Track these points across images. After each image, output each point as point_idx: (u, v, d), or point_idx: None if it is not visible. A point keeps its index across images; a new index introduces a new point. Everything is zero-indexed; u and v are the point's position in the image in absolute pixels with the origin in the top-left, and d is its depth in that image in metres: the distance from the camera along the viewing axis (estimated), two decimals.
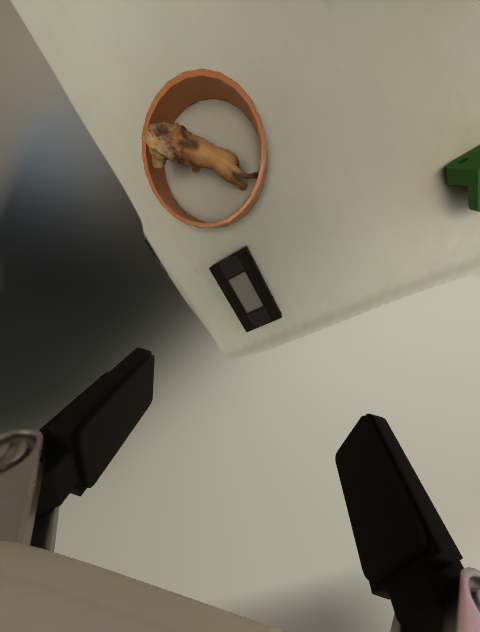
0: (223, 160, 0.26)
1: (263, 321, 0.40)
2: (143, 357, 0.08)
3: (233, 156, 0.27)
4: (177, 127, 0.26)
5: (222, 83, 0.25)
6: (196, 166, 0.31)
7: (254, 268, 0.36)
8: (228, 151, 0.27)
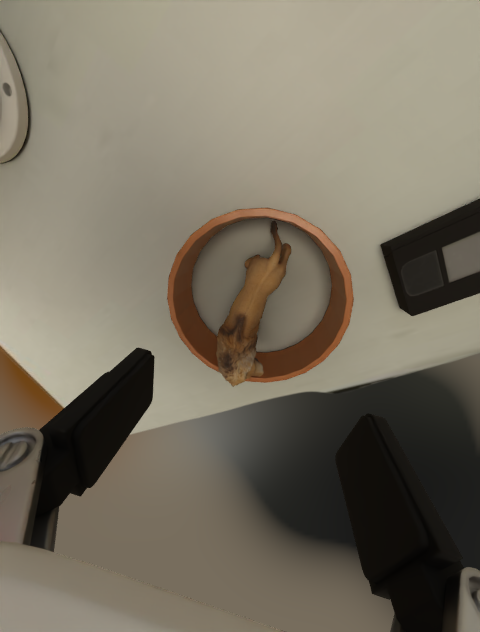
0: (262, 279, 0.16)
1: None
2: (143, 357, 0.08)
3: (257, 263, 0.17)
4: (222, 338, 0.19)
5: (177, 274, 0.20)
6: None
7: (442, 226, 0.17)
8: (250, 270, 0.17)
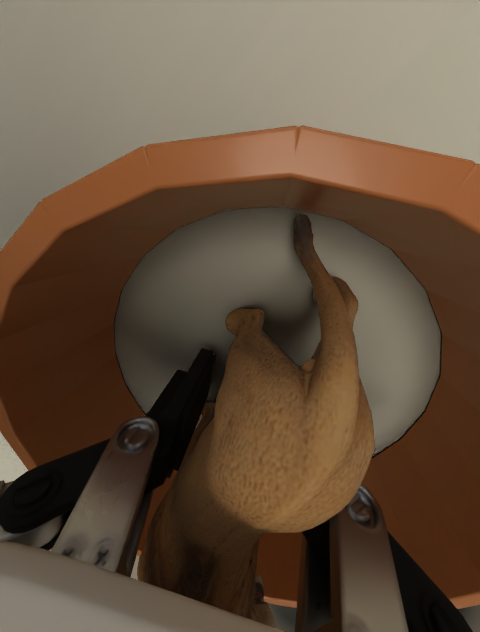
0: (285, 510, 0.03)
1: None
2: (209, 356, 0.09)
3: (254, 404, 0.04)
4: None
5: (14, 374, 0.07)
6: None
7: None
8: (226, 428, 0.04)
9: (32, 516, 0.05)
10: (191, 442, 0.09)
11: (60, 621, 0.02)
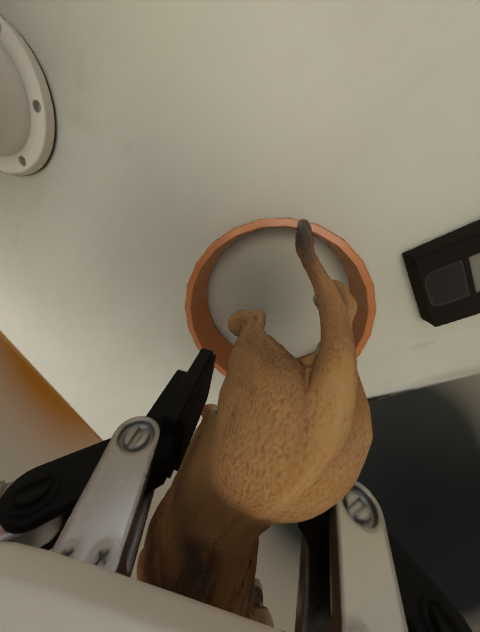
0: (286, 496, 0.03)
1: None
2: (210, 356, 0.09)
3: (257, 395, 0.04)
4: None
5: (196, 282, 0.20)
6: None
7: (469, 235, 0.17)
8: (229, 419, 0.04)
9: (33, 516, 0.05)
10: (192, 442, 0.09)
11: (60, 621, 0.02)
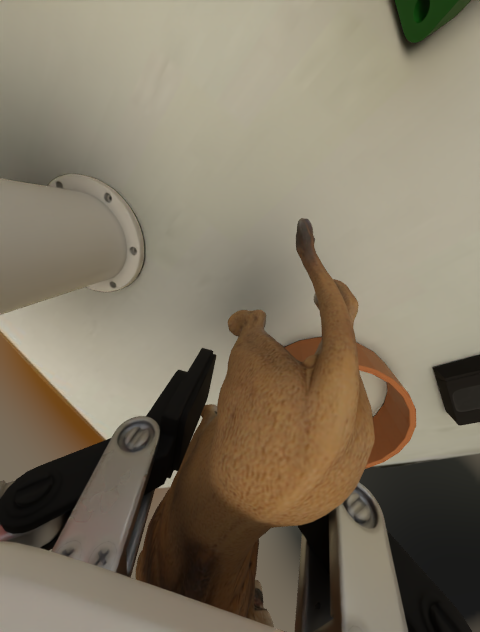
0: (286, 499, 0.03)
1: None
2: (210, 356, 0.09)
3: (257, 396, 0.04)
4: None
5: None
6: None
7: None
8: (229, 421, 0.04)
9: (33, 516, 0.05)
10: (192, 443, 0.09)
11: (60, 621, 0.02)
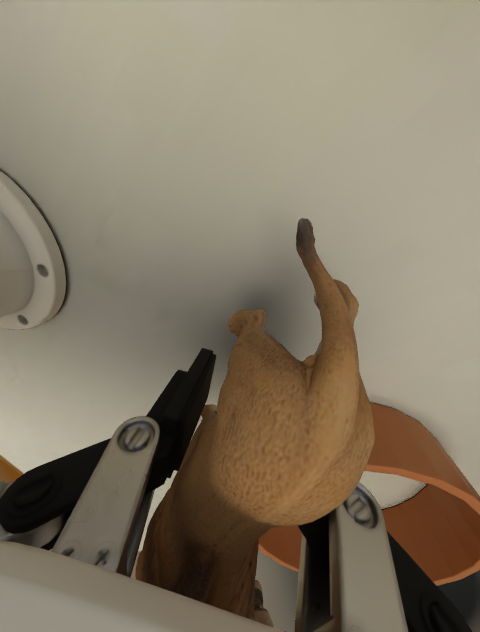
0: (286, 498, 0.03)
1: None
2: (210, 356, 0.09)
3: (257, 396, 0.04)
4: None
5: None
6: None
7: None
8: (229, 421, 0.04)
9: (33, 516, 0.05)
10: (192, 443, 0.09)
11: (60, 621, 0.02)
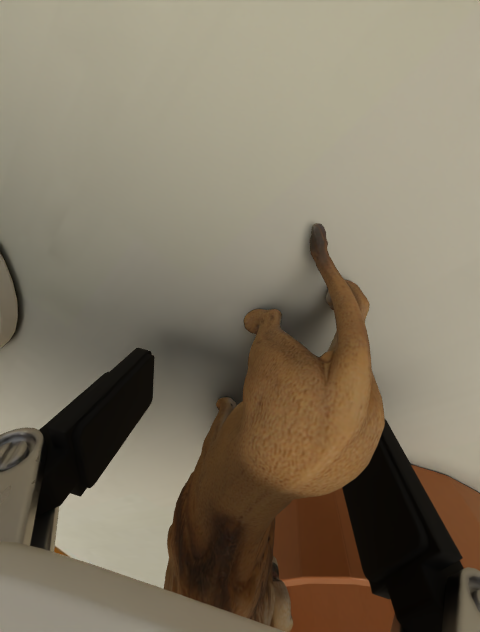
0: (309, 471, 0.04)
1: None
2: (143, 357, 0.08)
3: (282, 387, 0.04)
4: (175, 567, 0.07)
5: None
6: None
7: None
8: (256, 408, 0.05)
9: None
10: (211, 432, 0.10)
11: (60, 621, 0.02)
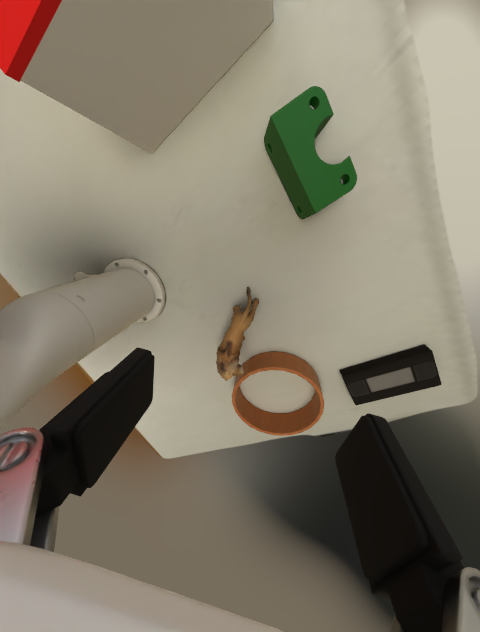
0: (239, 324, 0.32)
1: (431, 367, 0.35)
2: (143, 357, 0.08)
3: (236, 315, 0.33)
4: (219, 354, 0.35)
5: (238, 385, 0.40)
6: None
7: (364, 371, 0.37)
8: (233, 319, 0.33)
9: None
10: None
11: (60, 621, 0.02)
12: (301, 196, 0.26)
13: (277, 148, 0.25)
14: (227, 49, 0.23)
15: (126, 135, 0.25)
